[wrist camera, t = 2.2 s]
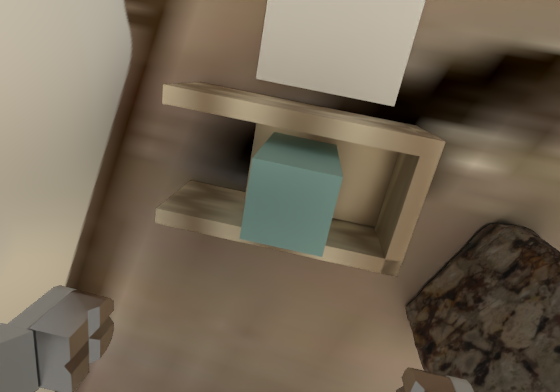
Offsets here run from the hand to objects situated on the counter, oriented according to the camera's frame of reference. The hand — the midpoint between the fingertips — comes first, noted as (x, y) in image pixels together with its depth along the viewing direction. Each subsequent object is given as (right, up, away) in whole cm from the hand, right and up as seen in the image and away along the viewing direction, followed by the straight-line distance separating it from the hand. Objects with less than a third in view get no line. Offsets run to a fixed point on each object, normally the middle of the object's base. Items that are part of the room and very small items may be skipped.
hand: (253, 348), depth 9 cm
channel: (+2, +7, +20) cm, 22 cm away
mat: (+5, +18, +16) cm, 24 cm away
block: (+2, +6, +18) cm, 20 cm away
